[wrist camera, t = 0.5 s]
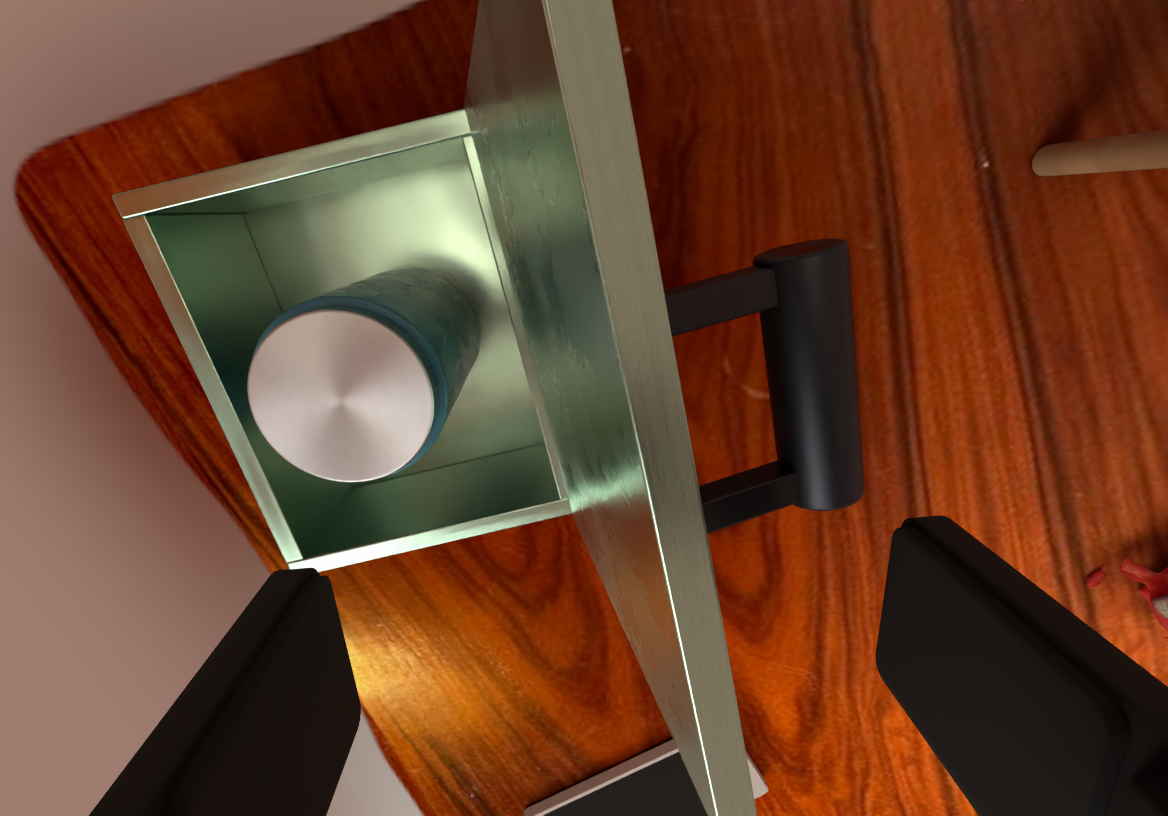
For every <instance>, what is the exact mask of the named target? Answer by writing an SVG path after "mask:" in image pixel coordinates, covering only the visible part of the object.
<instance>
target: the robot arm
mask: <svg viewBox="0 0 1168 816" xmlns="http://www.w3.org/2000/svg"><path fill="white" fill-rule="evenodd" d="M876 664H877V668H878V671H879V673H880V676H881V677H882V679H883V681H884V682H885V684H886V685H887V686H888V688H889V689H890V691H891V692H892V694H893V695H894V696H895V698H896V699H897V701H898V702H899V703H900V705H901V706H902V708H903V709H904V710H905V712H906V713H907V715H908V716H909V718H910V719H911V720H912V722H913V723H914V725H915V726H916V727H917V729H918V730H919V732H920V733H921V734H922V736H923V737H924V739H925V740H926V741H927V743H928V744H929V746H930V747H931V749H932V750H933V751H934V753H935V754H936V756H937V757H938V758H939V760H940V761H941V763H942V764H943V765H944V767H945V768H946V770H947V771H948V773H949V774H950V775H951V777H952V778H953V780H954V781H955V782H956V784H957V785H958V787H959V788H960V789H961V791H962V792H963V794H964V795H965V796H966V798H967V799H968V801H969V802H970V804H971V805H972V806H973V808H974V809H975V811H976V812H977V813H978V815H979V816H1168V687H1167V686H1166V685H1164V684H1163V683H1162V682H1160V681H1159V680H1158V679H1157V678H1155V677H1154V676H1153V675H1151V674H1150V673H1149V672H1148V671H1146V670H1145V669H1144V668H1142V667H1141V666H1140V665H1138V664H1137V663H1136V662H1135V661H1133V660H1132V659H1131V658H1129V657H1128V656H1127V655H1126V654H1124V653H1123V652H1122V651H1120V650H1119V649H1118V648H1117V647H1115V646H1114V645H1113V644H1111V643H1110V642H1109V641H1107V640H1106V639H1105V638H1104V637H1102V636H1101V635H1100V634H1098V633H1097V632H1096V631H1095V630H1093V629H1092V628H1091V627H1089V626H1088V625H1087V624H1085V623H1084V622H1083V621H1082V620H1080V619H1079V618H1078V617H1076V616H1075V615H1074V614H1073V613H1071V612H1070V611H1069V610H1067V609H1066V608H1065V607H1064V606H1062V605H1061V604H1060V603H1058V602H1057V601H1056V600H1054V599H1053V598H1052V597H1051V596H1049V595H1048V594H1047V593H1045V592H1044V591H1043V590H1042V589H1040V588H1039V587H1038V586H1036V585H1035V584H1034V583H1032V582H1031V581H1030V580H1029V579H1027V578H1026V577H1025V576H1023V575H1022V574H1021V573H1020V572H1018V571H1017V570H1016V569H1014V568H1013V567H1012V566H1010V565H1009V564H1008V563H1007V562H1005V561H1004V560H1003V559H1001V558H1000V557H999V556H998V555H996V554H995V553H994V552H992V551H991V550H990V549H989V548H987V547H986V546H985V545H983V544H982V543H981V542H979V541H978V540H977V539H976V538H974V537H973V536H972V535H970V534H969V533H968V532H967V531H965V530H964V529H963V528H961V527H960V526H959V525H957V524H956V523H955V522H954V521H952V520H951V519H949V518H948V517H946V516H929V517H917V518H908V519H906V520H905V521H904V522H903V524H902V526H901V528H897V529H896V530H895V531H894V533H893V537H892V543H891V550H890V558H889V565H888V572H887V579H886V586H885V593H884V600H883V607H882V614H881V621H880V628H879V635H878V642H877V649H876ZM360 714H361V706H360V700H359V696H358V692H357V688H356V684H355V679H354V675H353V671H352V667H351V663H350V659H349V655H348V651H347V647H346V643H345V638H344V634H343V630H342V626H341V622H340V618H339V614H338V610H337V606H336V602H335V597H334V593H333V589H332V585H331V582H330V579H329V578H328V577H327V576H320V575H319V573H318V571H317V570H316V569H315V568H312V567H311V568H299V569H287V570H278V571H275V572H273V573H272V574H271V575H270V577H269V578H268V579H267V581H266V582H265V583H264V585H263V586H262V587H261V589H260V590H259V591H258V593H257V594H256V595H255V597H254V598H253V599H252V601H251V602H250V603H249V604H248V606H247V607H246V608H245V610H244V611H243V612H242V614H241V615H240V616H239V618H238V619H237V621H236V622H235V623H234V624H233V626H232V627H231V628H230V630H229V631H228V632H227V634H226V635H225V636H224V638H223V639H222V640H221V642H220V643H219V644H218V645H217V647H216V648H215V650H214V651H213V652H212V653H211V655H210V656H209V657H208V659H207V660H206V661H205V663H204V664H203V665H202V667H201V668H200V669H199V671H198V672H197V673H196V675H195V676H194V677H193V679H192V680H191V681H190V682H189V684H188V685H187V687H186V688H185V689H184V691H183V692H182V693H181V695H180V696H179V697H178V698H177V700H176V701H175V702H174V704H173V705H172V706H171V708H170V709H169V710H168V712H167V713H166V714H165V716H164V717H163V718H162V720H161V721H160V722H159V724H158V725H157V726H156V727H155V729H154V730H153V731H152V733H151V734H150V736H149V737H148V738H147V739H146V741H145V742H144V743H143V745H142V746H141V748H140V749H139V750H138V751H137V753H136V754H135V755H134V757H133V758H132V759H131V761H130V762H129V763H128V764H127V766H126V767H125V768H124V770H123V771H122V773H121V774H120V775H119V776H118V778H117V779H116V781H115V782H114V783H113V784H112V786H111V787H110V788H109V790H108V791H107V792H106V794H105V795H104V796H103V798H102V799H101V800H100V802H99V803H98V804H97V805H96V807H95V808H94V809H93V811H92V812H91V813H90V815H89V816H326V814H327V812H328V809H329V806H330V803H331V801H332V798H333V795H334V793H335V790H336V787H337V784H338V781H339V779H340V776H341V773H342V771H343V768H344V765H345V762H346V760H347V757H348V754H349V752H350V749H351V746H352V743H353V741H354V738H355V735H356V732H357V730H358V726H359V722H360Z"/></svg>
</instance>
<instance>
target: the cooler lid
mask: <svg viewBox="0 0 1168 816" xmlns="http://www.w3.org/2000/svg"><path fill="white" fill-rule="evenodd" d="M464 108H465V112H466V116H467V119H468V123H469V127H470V131H471V134H472V138H473V142H474V146H475V149H476V153H477V157H478V161H479V164H480V168H481V172H482V176H483V179H484V183H485V187H486V191H487V194H488V198H489V202H490V206H491V209H492V213H493V217H494V221H495V224H496V228H497V232H498V236H499V239H500V243H501V247H502V251H503V254H504V258H505V262H506V266H507V269H508V273H509V277H510V281H511V284H512V288H513V292H514V296H515V299H516V303H517V307H518V311H519V314H520V318H521V322H522V326H523V329H524V333H525V337H526V341H527V344H528V348H529V352H530V356H531V359H532V363H533V367H534V371H535V374H536V378H537V382H538V386H539V389H540V393H541V397H542V401H543V404H544V408H545V412H546V416H547V419H548V423H549V427H550V431H551V434H552V438H553V442H554V446H555V449H556V453H557V457H558V461H559V464H560V468H561V472H562V476H563V479H564V483H565V487H566V491H567V494H568V498H569V502H570V506H571V509H572V513H573V517H574V520H575V523H576V525H577V527H578V529H579V531H580V534H581V536H582V538H583V540H584V542H585V545H586V547H587V549H588V551H589V554H590V556H591V558H592V560H593V562H594V565H595V567H596V569H597V571H598V573H599V576H600V578H601V580H602V582H603V585H604V587H605V589H606V591H607V593H608V596H609V598H610V600H611V602H612V604H613V607H614V609H615V611H616V613H617V616H618V618H619V620H620V622H621V624H622V627H623V629H624V631H625V633H626V635H627V638H628V640H629V642H630V644H631V646H632V649H633V651H634V653H635V655H636V658H637V660H638V662H639V664H640V666H641V669H642V671H643V673H644V675H645V677H646V680H647V682H648V684H649V686H650V689H651V691H652V693H653V695H654V697H655V700H656V702H657V704H658V706H659V708H660V711H661V713H662V715H663V717H664V720H665V722H666V724H667V726H668V728H669V731H670V733H671V735H672V737H673V739H674V742H675V744H676V746H677V748H678V751H679V753H680V755H681V757H682V759H683V762H684V764H685V766H686V768H687V770H688V773H689V775H690V777H691V779H692V781H693V784H694V786H695V788H696V790H697V793H698V795H699V797H700V799H701V801H702V804H703V806H704V808H705V810H706V812H707V815H708V816H757V811H756V806H755V800H754V794H753V789H752V783H751V777H750V772H749V766H748V761H747V755H746V749H745V744H744V738H743V732H742V727H741V721H740V716H739V710H738V704H737V699H736V693H735V687H734V682H733V676H732V671H731V665H730V659H729V654H728V648H727V642H726V637H725V631H724V626H723V620H722V614H721V609H720V603H719V598H718V592H717V586H716V581H715V575H714V569H713V564H712V558H711V553H710V547H709V541H708V536H707V534H708V533H711V532H714V531H717V530H720V529H723V528H726V527H729V526H732V525H735V524H737V523H740V522H743V521H746V520H749V519H752V518H755V517H758V516H761V515H764V514H767V513H770V512H773V511H776V510H778V509H781V508H784V507H787V506H790V505H795V506H797V507H800V508H803V509H808V510H815V511H829V510H837V509H842V508H845V507H848V506H850V505H853V504H854V503H856V502H857V501H859V500H860V499H861V497H862V496H863V494H864V491H865V481H864V466H863V451H862V436H861V422H860V407H859V392H858V377H857V362H856V347H855V332H854V318H853V303H852V288H851V273H850V258H849V245H848V243H847V241H846V240H842V239H821V240H812V241H806V242H800V243H794V244H790V245H785V246H781V247H777V248H774V249H770V250H767V251H765V252H762V253H760V254H759V255H757V256H755V258H754V261H753V264H754V266H752V267H749V268H745V269H741V270H738V271H734V272H730V273H727V274H723V275H719V276H715V277H712V278H708V279H704V280H701V281H697V282H693V283H690V284H686V285H682V286H679V287H675V288H671V289H668V290H664V288H663V283H662V277H661V271H660V266H659V260H658V255H657V249H656V243H655V238H654V232H653V226H652V221H651V215H650V210H649V204H648V198H647V193H646V187H645V182H644V176H643V170H642V165H641V159H640V153H639V148H638V142H637V137H636V131H635V125H634V120H633V114H632V108H631V103H630V97H629V92H628V86H627V80H626V75H625V69H624V63H623V58H622V52H621V47H620V41H619V35H618V30H617V24H616V18H615V13H614V7H613V2H612V0H479V5H478V12H477V19H476V26H475V33H474V40H473V47H472V53H471V60H470V67H469V74H468V81H467V88H466V95H465V102H464ZM757 312H759V313H760V321H761V329H762V337H763V346H764V354H765V362H766V370H767V378H768V386H769V394H770V402H771V410H772V419H773V427H774V435H775V443H776V451H777V459H778V461H775V462H772V463H768V464H765V465H762V466H759V467H756V468H753V469H750V470H747V471H744V472H741V473H738V474H735V475H732V476H729V477H726V478H723V479H720V480H717V481H714V482H711V483H707V484H704V485H701V486H699V485H698V479H697V474H696V468H695V463H694V457H693V451H692V446H691V440H690V434H689V429H688V423H687V418H686V412H685V406H684V401H683V395H682V390H681V384H680V378H679V373H678V367H677V361H676V356H675V350H674V345H673V339H672V337H673V336H676V335H680V334H683V333H687V332H690V331H694V330H697V329H701V328H704V327H708V326H711V325H715V324H718V323H722V322H726V321H729V320H733V319H736V318H740V317H743V316H747V315H750V314H754V313H757Z"/></svg>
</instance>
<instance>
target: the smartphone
mask: <svg viewBox="0 0 1168 816" xmlns="http://www.w3.org/2000/svg"><path fill="white" fill-rule="evenodd" d="M746 755H747V761H748V766H749V772H750V777H751V783H752V789H753V794H754V799H755V798H758V797H760V796H762V795H764V794H765V793H766V792H767V791H768V788H767V785H766V782H765V780H764V778H763V776H762V775H761V773H760V772H759V770H758V768H757V767H756V765H755V764H754V762H753V761H752V759H751V758H750V756H749V755H748V753H747V752H746ZM524 816H708V815H707V812H706V810H705V808H704V806H703V804H702V801H701V799H700V797H699V795H698V793H697V790H696V788H695V786H694V784H693V781H692V779H691V777H690V775H689V773H688V770H687V768H686V766H685V764H684V762H683V759H682V757H681V755H680V753H679V751H678V748H677V746H676V744H675V742H674V739H672V740H670V741H668V742H666V743H664V744H662V745H660V746H657V747H655V748H653V749H651V750H649V751H647V752H645V753H643V754H641V755H638V756H636V757H634V758H632V759H630V760H628V761H626V762H624V763H621V764H619V765H617V766H615V767H613V768H611V769H609V770H607V771H604V772H602V773H600V774H598V775H596V776H594V777H592V778H590V779H588V780H585V781H583V782H581V783H579V784H577V785H575V786H573V787H571V788H568V789H566V790H564V791H562V792H560V793H558V794H556V795H554V796H551V797H549V798H547V799H545V800H543V801H541V802H539V803H537V804H534V805H532V806H530V807H529V808H527V809H526V810H525V811H524Z"/></svg>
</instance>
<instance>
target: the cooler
mask: <svg viewBox="0 0 1168 816" xmlns="http://www.w3.org/2000/svg"><path fill="white" fill-rule="evenodd" d="M112 198H113V200H114V202H115V204H116V207H117V209H118V211H119V213H120V215H121V217H122V218H123V219H124V220H123V222H124V224H125V226H126V228H127V230H128V232H129V234H130V237H131V239H132V241H133V243H134V245H135V247H136V249H137V251H138V253H139V255H140V258H141V260H142V262H143V264H144V266H145V268H146V270H147V272H148V274H149V276H150V279H151V281H152V283H153V285H154V287H155V289H156V291H157V293H158V295H159V297H160V299H161V302H162V304H163V306H164V308H165V310H166V312H167V314H168V316H169V318H170V320H171V323H172V325H173V327H174V329H175V331H176V333H177V335H178V337H179V339H180V341H181V344H182V346H183V348H184V350H185V352H186V354H187V356H188V358H189V360H190V362H191V364H192V367H193V369H194V371H195V373H196V375H197V377H198V379H199V381H200V383H201V385H202V388H203V390H204V392H205V394H206V396H207V398H208V400H209V402H210V404H211V406H212V409H213V411H214V413H215V415H216V417H217V419H218V421H219V423H220V425H221V427H222V429H223V432H224V434H225V436H226V438H227V440H228V442H229V444H230V446H231V448H232V450H233V453H234V455H235V457H236V459H237V461H238V463H239V465H240V467H241V469H242V471H243V474H244V476H245V478H246V480H247V482H248V484H249V486H250V488H251V490H252V492H253V494H254V497H255V499H256V501H257V503H258V505H259V507H260V509H261V511H262V513H263V515H264V518H265V520H266V522H267V524H268V526H269V528H270V530H271V532H272V534H273V536H274V538H275V541H276V543H277V545H278V547H279V549H280V551H281V553H282V555H283V557H284V559H285V562H287V565H288V567H289V569H299V568H311V567H312V568H315V569H316V570H317V571H318V572H321V571H326V570H330V569H334V568H339V567H343V566H347V565H352V564H356V563H360V562H365V561H369V560H373V559H378V558H382V557H386V556H391V555H395V554H399V553H404V552H408V551H412V550H417V549H421V548H425V547H430V546H434V545H438V544H443V543H447V542H451V541H456V540H460V539H464V538H469V537H473V536H477V535H482V534H486V533H490V532H495V531H499V530H503V529H508V528H512V527H516V526H521V525H525V524H529V523H534V522H538V521H542V520H547V519H551V518H555V517H560V516H564V515H568V514H573V513H572V509H571V506H570V502H569V498H568V494H567V491H566V487H565V483H564V479H563V476H562V472H561V468H560V464H559V461H558V457H557V453H556V449H555V446H554V442H553V438H552V434H551V431H550V427H549V423H548V419H547V416H546V412H545V408H544V404H543V401H542V397H541V393H540V389H539V386H538V382H537V378H536V374H535V371H534V367H533V363H532V359H531V356H530V352H529V348H528V344H527V341H526V337H525V333H524V329H523V326H522V322H521V318H520V314H519V311H518V307H517V303H516V299H515V296H514V292H513V288H512V284H511V281H510V277H509V273H508V269H507V266H506V262H505V258H504V254H503V251H502V247H501V243H500V239H499V236H498V232H497V228H496V224H495V221H494V217H493V213H492V209H491V206H490V202H489V198H488V194H487V191H486V187H485V183H484V179H483V176H482V172H481V168H480V164H479V161H478V157H477V153H476V149H475V146H474V142H473V138H472V134H471V131H470V127H469V123H468V119H467V116H466V112H465V108H464V109H460V110H456V111H452V112H448V113H443V114H439V115H435V116H431V117H427V118H423V119H419V120H415V121H411V122H407V123H403V124H399V125H395V126H391V127H387V128H382V129H378V130H374V131H370V132H366V133H362V134H358V135H354V136H350V137H346V138H342V139H338V140H334V141H330V142H326V143H321V144H317V145H313V146H309V147H305V148H301V149H297V150H293V151H289V152H285V153H281V154H277V155H273V156H269V157H265V158H261V159H256V160H252V161H248V162H244V163H240V164H236V165H232V166H228V167H224V168H220V169H216V170H212V171H208V172H204V173H200V174H195V175H191V176H187V177H183V178H179V179H175V180H171V181H167V182H163V183H159V184H155V185H151V186H147V187H143V188H139V189H134V190H130V191H126V192H122V193H118V194H114V195H113V196H112ZM397 268H413V269H420V270H424V271H428V272H430V273H433V274H436V275H438V276H439V277H441V278H443V279H445V280H446V281H448V282H449V283H451V284H452V285H453V286H454V287H455V288H456V289H458V290H459V292H460V293H461V294H462V295H463V296H464V297H465V299H466V300H467V302H468V303H469V305H470V307H471V308H472V310H473V312H474V315H475V318H476V321H477V325H478V330H479V348H478V353H477V357H476V360H475V363H474V365H473V367H472V369H471V371H470V373H469V375H468V377H467V379H466V381H465V383H464V385H463V387H462V389H461V391H460V393H459V396H458V398H457V400H456V402H455V404H454V406H453V408H452V410H451V412H450V414H449V416H448V418H447V420H446V422H445V424H444V426H443V428H442V430H441V432H440V434H439V437H438V439H437V440H436V441H435V443H434V444H433V446H432V447H431V448H430V450H429V451H428V452H427V453H426V454H425V455H424V456H423V457H422V458H420V459H419V460H418V461H417V462H416V463H414V464H413V465H411V466H409V467H408V468H406V469H404V470H402V471H400V472H397V473H395V474H392V475H389V476H385V477H381V478H378V479H375V480H370V481H364V482H338V481H333V480H327V479H324V478H320V477H317V476H314V475H312V474H310V473H307V472H305V471H303V470H301V469H299V468H298V467H296V466H294V465H293V464H291V463H290V462H288V461H287V460H286V459H284V458H283V457H282V456H281V455H280V454H279V453H278V452H276V451H275V450H274V448H273V447H272V446H271V445H270V444H269V443H268V442H267V440H266V439H265V437H264V436H263V435H262V433H261V432H260V430H259V428H258V426H257V424H256V422H255V420H254V417H253V415H252V412H251V409H250V405H249V400H248V391H247V383H248V373H249V369H250V364H251V362H252V357H253V353H254V351H255V348H256V345H257V343H258V341H259V339H260V338H261V336H262V334H263V332H264V331H265V330H266V329H267V327H268V326H269V325H270V324H271V323H272V322H273V321H274V320H275V319H276V318H277V317H278V316H279V315H280V314H282V313H283V312H285V311H286V310H288V309H289V308H291V307H293V306H295V305H297V304H299V303H301V302H304V301H307V300H309V299H312V298H315V297H317V296H320V295H323V294H325V293H328V292H331V291H333V290H336V289H339V288H341V287H344V286H347V285H349V284H352V283H355V282H357V281H360V280H363V279H365V278H368V277H371V276H373V275H376V274H379V273H381V272H384V271H388V270H392V269H397Z"/></svg>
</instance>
